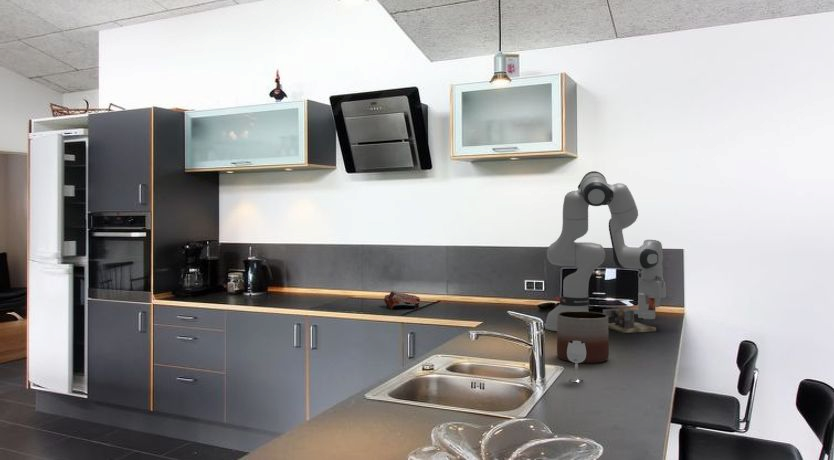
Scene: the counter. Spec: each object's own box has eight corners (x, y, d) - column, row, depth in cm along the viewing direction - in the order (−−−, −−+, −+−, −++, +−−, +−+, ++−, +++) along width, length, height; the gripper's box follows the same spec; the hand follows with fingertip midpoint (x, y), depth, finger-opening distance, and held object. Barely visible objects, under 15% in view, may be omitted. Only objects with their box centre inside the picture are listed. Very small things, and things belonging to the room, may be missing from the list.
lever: (605, 317, 274) (606, 299, 274) (602, 315, 278) (602, 297, 278) (657, 316, 276) (657, 298, 276) (652, 315, 280) (652, 297, 280)
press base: (623, 332, 265) (623, 312, 265) (605, 326, 280) (605, 307, 280) (655, 331, 269) (656, 310, 269) (636, 325, 284) (636, 306, 283)
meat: (406, 304, 358) (406, 287, 358) (429, 308, 341) (429, 290, 341) (377, 307, 345) (376, 289, 345) (399, 311, 328) (398, 293, 328)
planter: (600, 367, 204) (601, 320, 204) (549, 360, 213) (550, 315, 213) (614, 356, 219) (614, 313, 219) (566, 351, 229) (566, 309, 228)
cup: (656, 319, 300) (656, 295, 300) (639, 318, 302) (639, 294, 302) (653, 316, 308) (653, 293, 308) (636, 316, 310) (637, 292, 310)
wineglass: (564, 378, 189) (564, 340, 188) (582, 378, 189) (582, 340, 189) (570, 383, 183) (570, 344, 183) (589, 383, 183) (589, 343, 183)
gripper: (670, 277, 267) (669, 308, 267) (649, 273, 288) (649, 302, 288) (656, 277, 267) (655, 308, 267) (636, 273, 287) (636, 302, 287)
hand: (652, 305), depth 278 cm, fingers open, 8 cm apart
